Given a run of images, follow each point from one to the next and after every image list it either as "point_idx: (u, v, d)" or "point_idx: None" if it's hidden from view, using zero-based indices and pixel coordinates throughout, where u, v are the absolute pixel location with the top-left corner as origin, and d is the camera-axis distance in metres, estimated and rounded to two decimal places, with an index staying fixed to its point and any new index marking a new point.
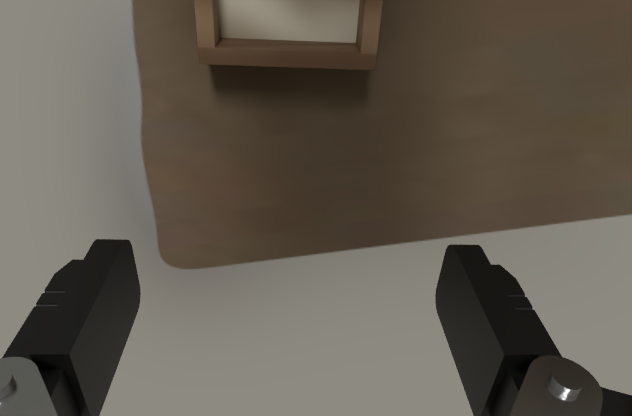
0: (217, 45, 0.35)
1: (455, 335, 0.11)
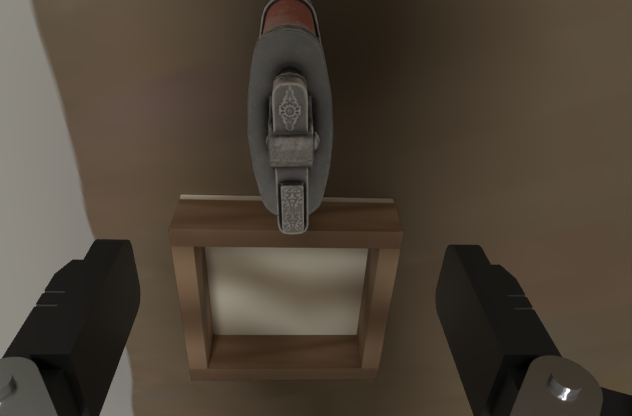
0: (210, 360, 0.33)
1: (455, 335, 0.11)
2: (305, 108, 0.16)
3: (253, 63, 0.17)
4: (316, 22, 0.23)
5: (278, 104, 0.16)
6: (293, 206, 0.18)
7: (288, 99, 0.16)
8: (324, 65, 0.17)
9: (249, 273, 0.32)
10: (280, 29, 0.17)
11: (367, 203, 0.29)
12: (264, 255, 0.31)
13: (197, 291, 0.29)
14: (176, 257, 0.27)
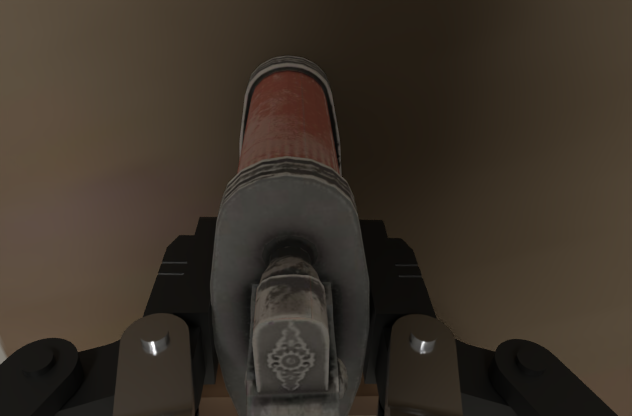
0: None
1: None
2: (324, 355, 0.08)
3: (218, 234, 0.09)
4: (331, 104, 0.14)
5: (267, 351, 0.07)
6: None
7: (288, 343, 0.07)
8: (357, 234, 0.09)
9: None
10: (271, 176, 0.08)
11: None
12: None
13: None
14: None
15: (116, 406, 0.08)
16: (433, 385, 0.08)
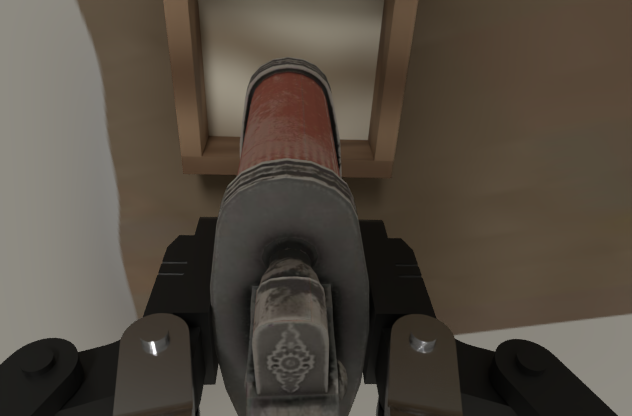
0: (204, 151, 0.29)
1: None
2: (323, 358, 0.08)
3: (218, 236, 0.09)
4: (332, 105, 0.14)
5: (266, 353, 0.07)
6: None
7: (287, 346, 0.07)
8: (357, 236, 0.09)
9: (249, 45, 0.28)
10: (271, 178, 0.08)
11: None
12: (265, 17, 0.28)
13: (189, 34, 0.25)
14: None
15: (116, 405, 0.08)
16: (433, 384, 0.08)
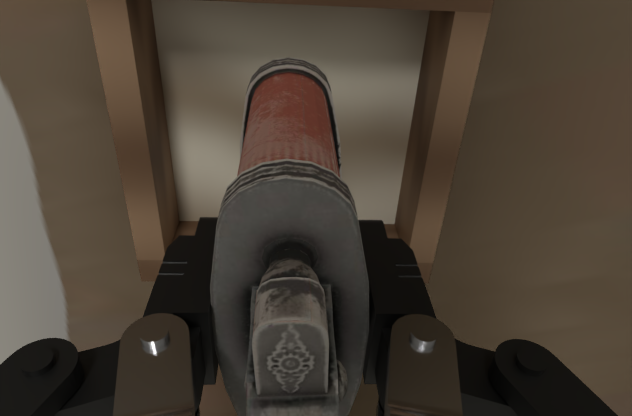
0: None
1: None
2: (323, 358, 0.08)
3: (218, 236, 0.09)
4: (332, 106, 0.14)
5: (266, 354, 0.07)
6: None
7: (287, 346, 0.07)
8: (357, 237, 0.09)
9: (232, 105, 0.20)
10: (271, 179, 0.08)
11: None
12: (254, 69, 0.19)
13: (139, 101, 0.17)
14: (97, 22, 0.15)
15: (116, 406, 0.08)
16: (433, 384, 0.08)
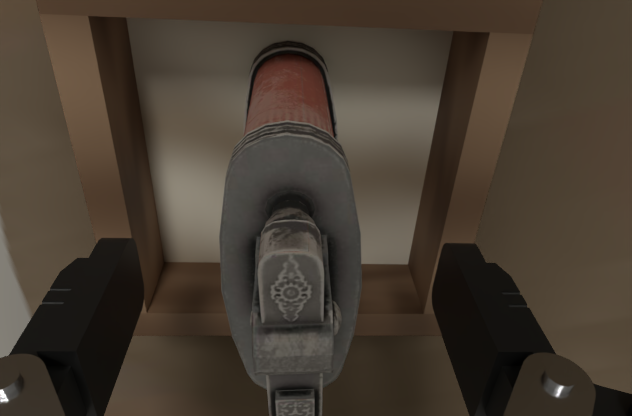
0: (153, 300, 0.18)
1: (451, 333, 0.11)
2: (319, 288, 0.09)
3: (227, 189, 0.10)
4: (328, 85, 0.16)
5: (270, 283, 0.09)
6: None
7: (288, 276, 0.09)
8: (350, 190, 0.10)
9: (223, 135, 0.17)
10: (273, 135, 0.09)
11: None
12: None
13: (110, 138, 0.14)
14: (55, 46, 0.13)
15: None
16: None
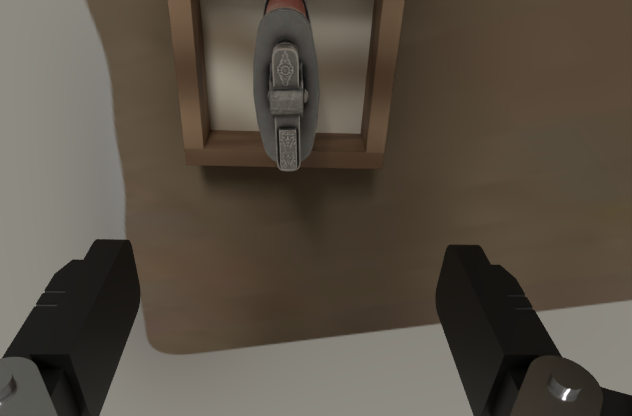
0: (206, 144, 0.31)
1: (455, 335, 0.11)
2: (296, 68, 0.22)
3: (257, 37, 0.23)
4: (307, 10, 0.29)
5: (276, 65, 0.21)
6: (288, 147, 0.23)
7: (284, 61, 0.21)
8: (311, 38, 0.23)
9: (248, 43, 0.30)
10: (278, 10, 0.22)
11: None
12: None
13: (192, 33, 0.27)
14: None
15: None
16: None
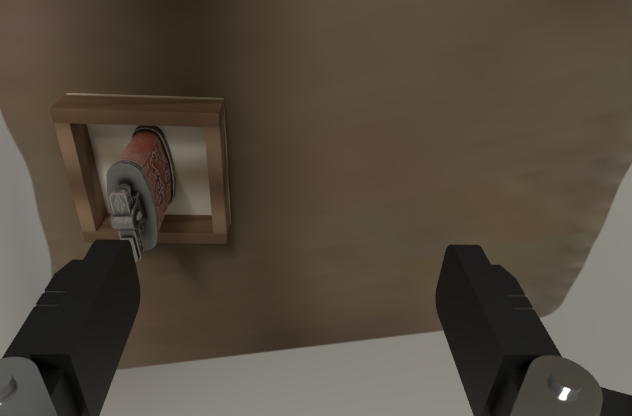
0: (99, 227, 0.44)
1: (455, 335, 0.11)
2: (126, 203, 0.34)
3: (107, 178, 0.36)
4: (162, 140, 0.41)
5: (113, 202, 0.34)
6: None
7: (117, 200, 0.34)
8: (142, 179, 0.36)
9: None
10: (118, 164, 0.35)
11: (203, 99, 0.40)
12: None
13: (78, 161, 0.40)
14: (58, 132, 0.38)
15: None
16: None
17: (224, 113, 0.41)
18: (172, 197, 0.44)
